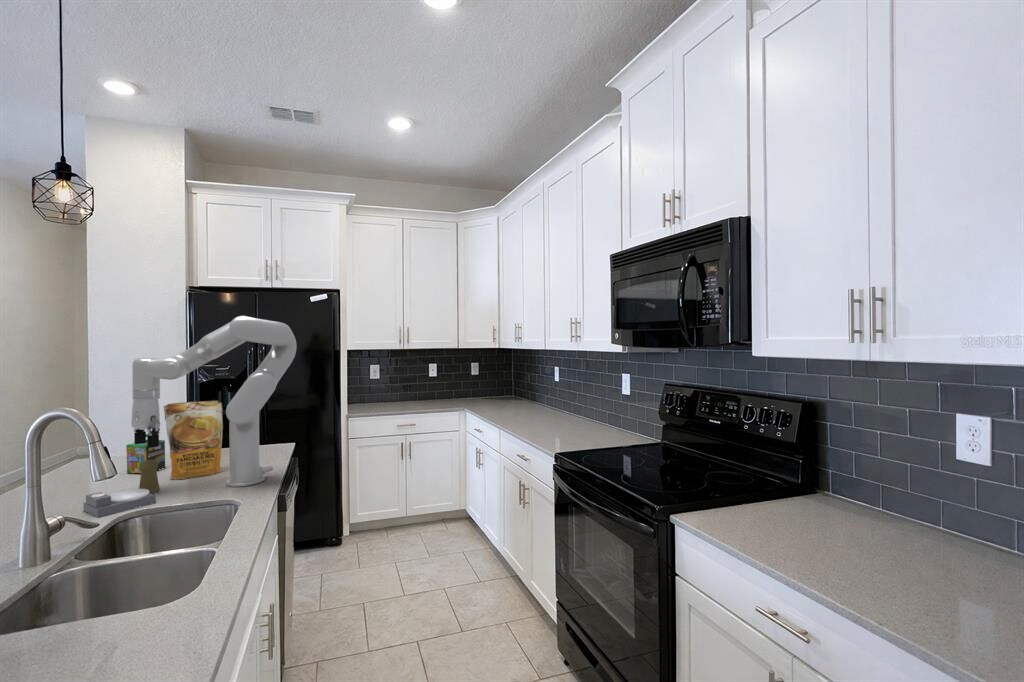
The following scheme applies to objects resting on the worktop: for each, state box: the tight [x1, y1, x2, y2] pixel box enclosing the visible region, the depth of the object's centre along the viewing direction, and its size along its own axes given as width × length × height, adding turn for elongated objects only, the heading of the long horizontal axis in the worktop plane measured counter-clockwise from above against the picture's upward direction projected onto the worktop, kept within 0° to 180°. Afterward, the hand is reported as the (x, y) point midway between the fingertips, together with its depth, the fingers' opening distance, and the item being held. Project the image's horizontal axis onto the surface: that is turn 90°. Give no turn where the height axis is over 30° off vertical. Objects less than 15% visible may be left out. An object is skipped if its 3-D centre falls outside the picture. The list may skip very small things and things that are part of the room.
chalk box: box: [125, 433, 166, 474], centre depth 199 cm, size 9×9×15 cm
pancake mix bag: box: [163, 399, 224, 480], centre depth 192 cm, size 7×19×28 cm, turn 126°
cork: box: [138, 460, 161, 495], centre depth 171 cm, size 6×6×11 cm
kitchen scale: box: [82, 488, 157, 518], centre depth 157 cm, size 15×11×5 cm
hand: (146, 445), depth 171 cm, fingers open, 9 cm apart
